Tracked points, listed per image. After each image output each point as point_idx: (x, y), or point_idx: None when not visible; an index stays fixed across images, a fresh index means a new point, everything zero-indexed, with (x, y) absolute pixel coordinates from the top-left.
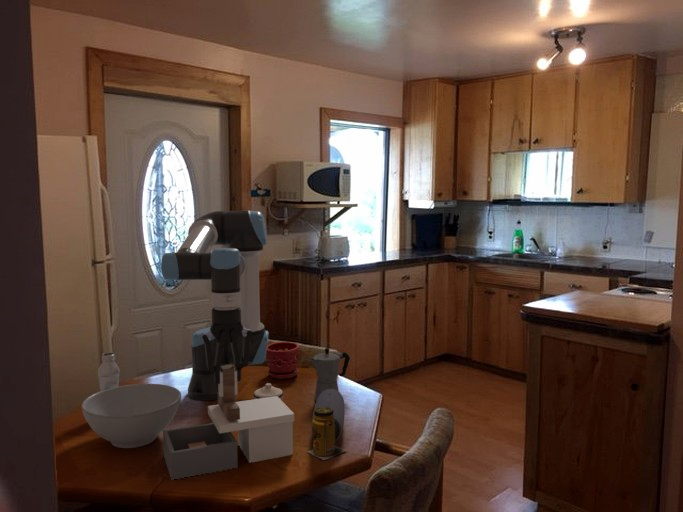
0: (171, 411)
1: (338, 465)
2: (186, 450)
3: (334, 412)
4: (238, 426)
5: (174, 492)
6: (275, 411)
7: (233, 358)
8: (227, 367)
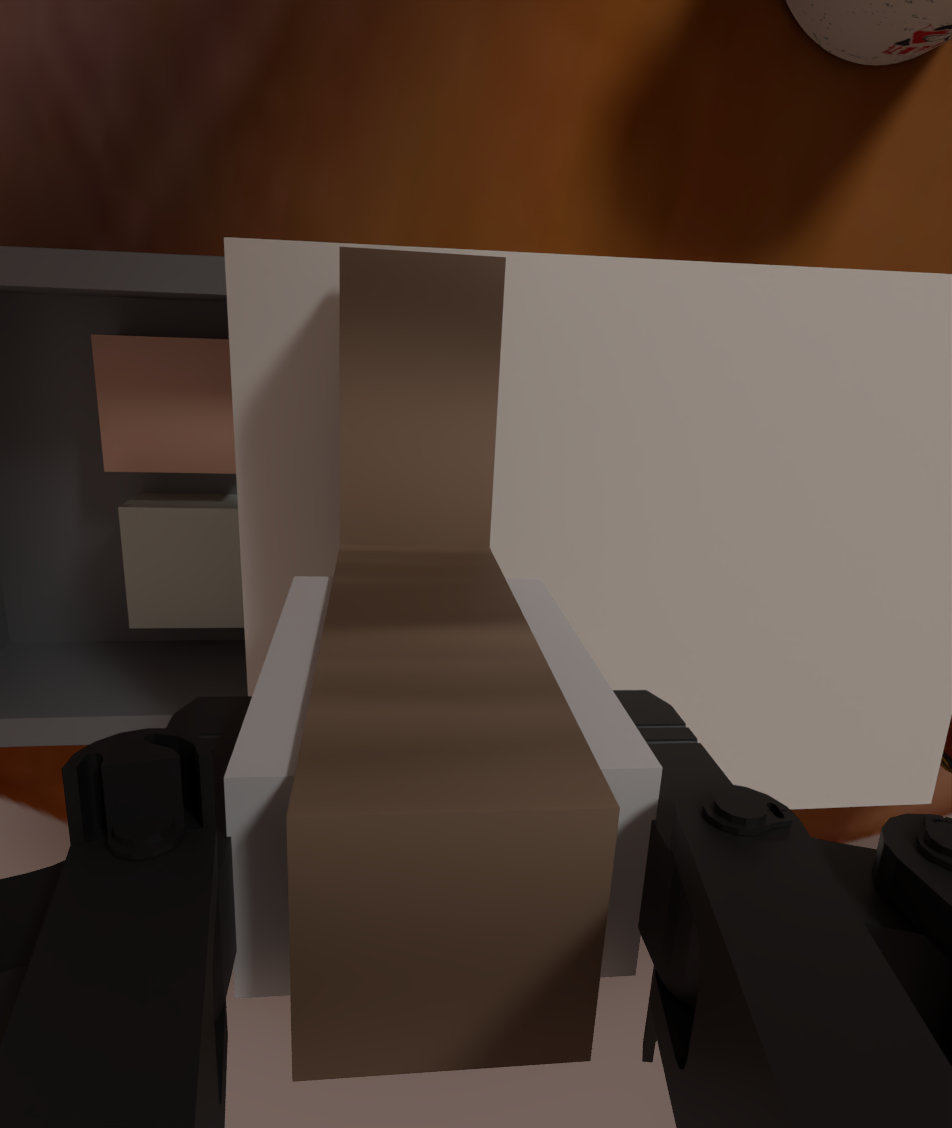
0: None
1: (892, 815)
2: (16, 742)
3: None
4: None
5: (12, 790)
6: (825, 697)
7: (740, 1021)
8: (443, 980)
